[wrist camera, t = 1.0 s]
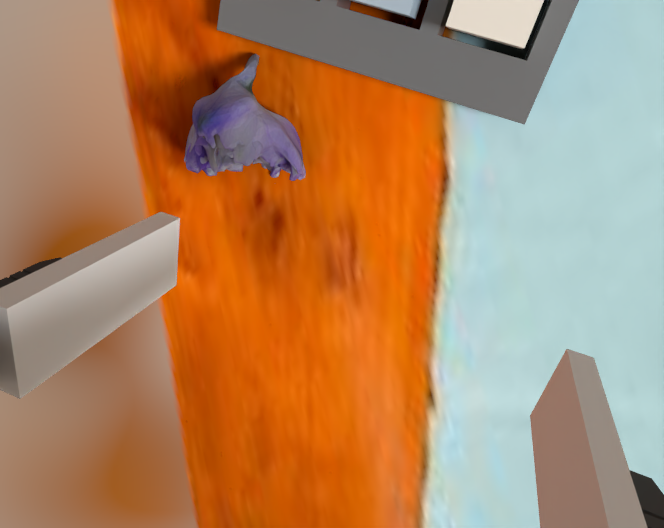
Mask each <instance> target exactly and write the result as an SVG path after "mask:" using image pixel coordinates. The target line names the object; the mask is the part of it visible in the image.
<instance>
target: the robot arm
mask: <svg viewBox="0 0 664 528" xmlns="http://www.w3.org/2000/svg"><path fill="white" fill-rule="evenodd" d="M179 226H180V218H178V217H175V216H172V215H169V214H166V213H163V212H159V213H157V214H155V215H153V216H151V217H149V218H147V219H145V220H142V221H140V222H138V223H136V224H134V225H132V226H130V227H128V228H126V229H124V230H121V231H120V232H117V233H115V234H113V235H111V236H109V237H107V238H105V239H103V240H100V241H98V242H97V243H94V244H92V245H90V246H88V247H86V248H84V249H81V250H80V251H77V252H75V253H73V254H71V255H69V256H67V257H65V258H63V259H62V258H55V259H51V260H47V261H42V262H39V263H37V264H35V265H32V266H30V267H28V268H26V269H24V270H23V271H22V272H21V271H19V272H17V273H15V274H13V275H10V277H9V278H4V279H2V280H0V390H2V391H4V392H6V393H9V394H10V395H13V396H15V397H17V398H19V399H20V398H22V397H23V396H25V395H26V394H27V393H29V392H30V391H32V390H33V389H34V388H36V387H37V386H38V385H40V384H41V383H42V382H44V381H45V380H47V379H48V378H49V377H51V376H52V375H53V374H55V373H56V372H58V371H59V370H60V369H62V368H63V367H64V366H66V365H67V364H69V363H70V362H71V361H73V360H74V359H75V358H77V357H78V356H79V355H81V354H82V353H84V352H85V351H86V350H88V349H89V348H90V347H92V346H93V345H95V344H96V343H98V342H99V341H100V340H102V339H103V338H104V337H106V336H107V335H108V334H110V333H111V332H113V331H114V330H115V329H117V328H118V327H119V326H121V325H122V324H124V323H125V322H126V321H128V320H129V319H130V318H132V317H133V316H135V315H136V314H137V313H139V312H140V311H141V310H143V309H144V308H146V307H147V306H148V305H150V304H151V303H152V302H154V301H155V300H157V299H158V298H159V297H161V296H162V295H163V294H165V293H166V292H168V291H169V290H170V289H172V288H173V287H174V286H176V283H177V264H178V245H179ZM530 418H531V429H532V440H533V451H534V462H535V473H536V484H537V495H538V506H539V517H540V528H664V495H663V493H662V492H661V490H660V489H659V488H658V486H657V485H656V484H655V482H654V481H653V480H652V479H651V478H649V477H646V476H643V475H641V474H638V473H635V472H633V471H630V470H629V468H628V465H627V461H626V458H625V455H624V452H623V449H622V446H621V442H620V439H619V436H618V433H617V430H616V427H615V423H614V420H613V417H612V414H611V411H610V408H609V405H608V401H607V398H606V395H605V392H604V389H603V386H602V382H601V379H600V376H599V373H598V370H597V367H596V363H595V360H594V358H593V357H590V356H587V355H584V354H581V353H578V352H575V351H572V350H569V349H566V351H565V353H564V355H563V357H562V359H561V360H560V362H559V364H558V366H557V368H556V370H555V371H554V373H553V375H552V377H551V379H550V380H549V382H548V384H547V386H546V388H545V390H544V391H543V393H542V395H541V397H540V399H539V401H538V402H537V404H536V406H535V408H534V410H533V411H532V413H531V415H530Z"/></svg>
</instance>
